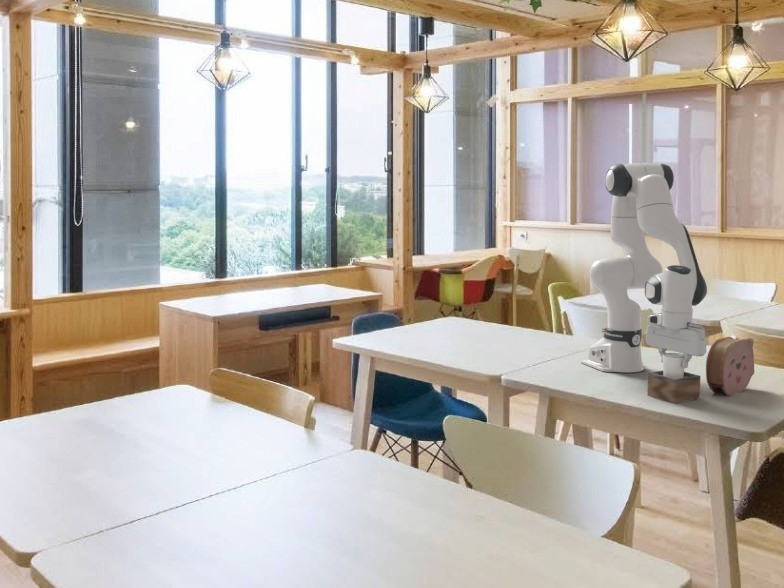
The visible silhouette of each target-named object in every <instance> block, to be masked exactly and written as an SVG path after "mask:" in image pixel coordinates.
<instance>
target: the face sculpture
mask: <svg viewBox="0 0 784 588" xmlns="http://www.w3.org/2000/svg"><path fill="white" fill-rule="evenodd" d="M754 343H755V340H754V339H753V338H752V337H747V338H741V339H740V338H739V339H735V338H733V337H731V336H726V337H722V338H721V337H720V338H717V339H716V340H714V341H713V343H711V346H710V348H709V351H708V353H707V357H706V361H705V379H706V383H707V385H708V388H709V390H710V391H711V392H712V393H713V394H719V393H724V394H725V395H726V396H727V397H731V396H734V395H737V394H740V393H741V392H744V391H745V390H746V389H747V387H748V386H749V384H750V381H751V378H752V377H753V376H754V375H755V359H754V358H755V355H754V353H755V352H754Z"/></svg>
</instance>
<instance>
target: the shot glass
mask: <svg viewBox="0 0 784 588" xmlns="http://www.w3.org/2000/svg"><path fill="white" fill-rule="evenodd" d="M683 355H684V353H680V352H666V353H664V354H663V355H662V356H663V363H662V370H663V376H665V377H668V378H672V379H681V378H683V376H684V372H685V370H686V368H682V367H681V362H683V360H684V358H685V357H683Z"/></svg>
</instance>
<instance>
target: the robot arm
mask: <svg viewBox="0 0 784 588" xmlns="http://www.w3.org/2000/svg"><path fill="white" fill-rule="evenodd" d="M674 179H675V176H674V172H673V169H672V168H671V167H670V165H668V164H665V163H660V162H657V163H653V162H652V163H651V162H638V163H637V162H635V163H625V164H623V163H619V164H618V163H617V164H614V165H611V166H610V167H609V169H608V170H607V171H606V174H605V181H604V182H605V184H604V185H605V189H606V191H607V192H608V193H609V194H610V195H612V196H613V197H612V200H611V201H612V202H611V210H610V233H609V234H610V235H609V236H610V237H609V238H610V239H611V241H612V242H613V244H615V245H617V246H618V247H621V249H622V250H623V252H624V256H621V257H605V258H602V259H598V260H594V261H593V262H592V264H591V266H590V268H589V271H588V273H589V274H588V275H589V280H590V283H591V284H592V285H593V286H594V288H596V289H597V290H599V292H600V293H601V294H602V296H603V298H604V300H605V303H606V307H607V308H606V309H607V327H606V328H601V330H602V331H601V333H603V336H602V337H601V338H600V339H599V340H598V341H596V342H594V343H593V344H592V345H590V347H589V350H588V355H587V357H585V358H583V359H581V361H580V363H581V364H583V365H585V366H589V367H591V368H594V369H596V370H598V371H601V372H609V373H611V372H612V373H614V372H615V373H639V372H641V371H642V372H643V371H644V370H645V367H644V362H643V356H642V354H643V353H642V343H641V341H642V338H643V332H642V331H643V329H642V328H641V326H642V308H641V306H640V304H639V302H636V301H635V300H633V299H632V298H629V294H628V290H630V289H631V290H633V289H635V290H636V289H644V294H645V295H644V296H645V298H646V299H647V300H648V302H650V303H651V304H652V305H657V306H662V308H661V312H660V313H657V314H653V315H648V316H647V323H648V324H647V326H646V331H645V342H646V344H647V346H651V347H655V348H658V353H659V356H660V358H661V359H660V362H661V363H662V364H663V356H662V355H663V354H664V353H667V351H671V352H675V353H679V354H684V355H683V357H685V358H684V360H683V362H681V367H682V368H685V369H688V368H689V362H690V361H691V359H692V358H693V356H694V357H703V356H704V355H706V354H707V339H706V338H707V337H706V328H704V327H703V326H702V324H696V323H693V312H694V311H693V306H694V307H695V306H697V305H699V304H700V303H701V302H702V301H703V300H704V299H705V298H706V296H707V294H708V293H707V292H708V286H707V283H706V280H705V278H704V276H703V274H702V272H701V269H700V266H699V263H698V259H697V255H696V253H695V249H694V246H693V243H692V239H691V237H690V234H689V231H688V229H687V227H686V226H685V225H684V224H683V223H681V222H680V220H679V219H678V217H677V215H676V213H675V210H674V205H673V198H672V195H671V189H672V188H673V185H674ZM645 235H647V236H649V237H650V238H653V239H657V240H660V241H662V242H664V243H666V244H668V245H670V246H671V247H672V248H673V249H674V251H675V253H676V256H677V259H678V262H679V264H677V265H669V266H667V267H666V268H665V269H664V270H663V267H662V266H663V265H662V264H661V263H660V261H659V260H658V259H657V258H656V257H655V256H653V255H652V252H650V250H649V248H648V245H647V242H646V238H645Z"/></svg>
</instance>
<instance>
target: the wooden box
mask: <svg viewBox="0 0 784 588" xmlns="http://www.w3.org/2000/svg"><path fill="white" fill-rule="evenodd" d="M700 393H701V375H699V374H695V373H691V372H687V371H684V376H683V378H681V379H672V378H668V377H665V376H663V369H662V370H657V371H652V372H648V375H647V396H649V397H652V398H656V399H658V400H659V399H660V400H662V401H666V402H669V403H672V404H679V403H683V402H688V401H694V400H698V399H700Z"/></svg>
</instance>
